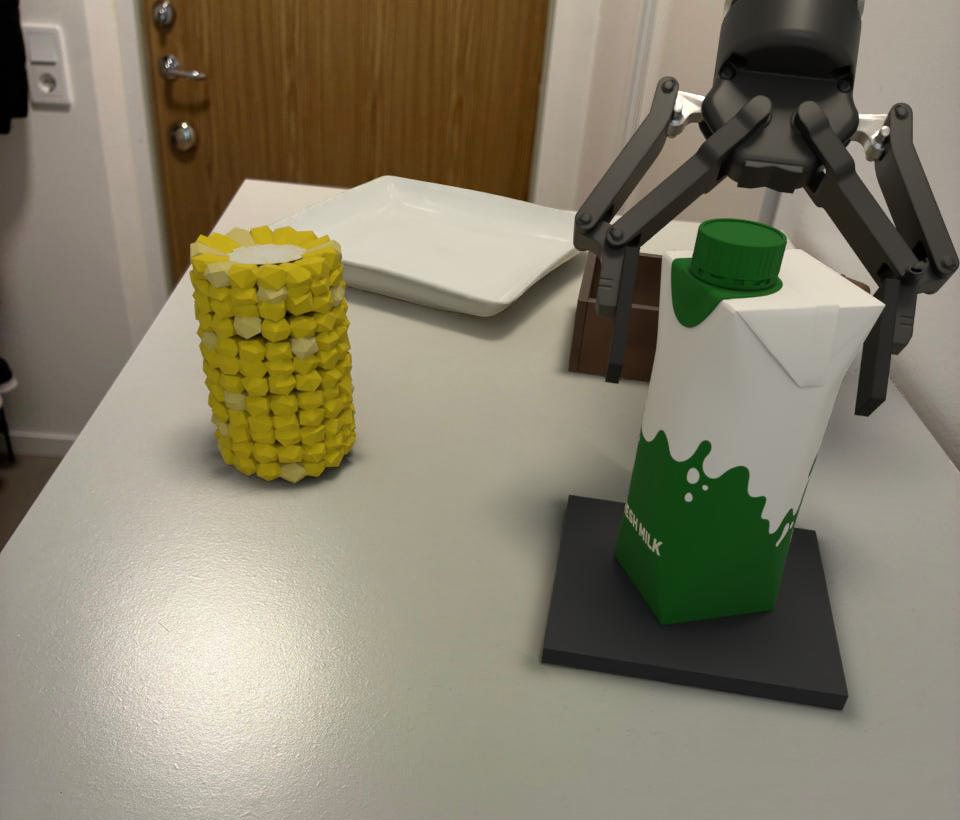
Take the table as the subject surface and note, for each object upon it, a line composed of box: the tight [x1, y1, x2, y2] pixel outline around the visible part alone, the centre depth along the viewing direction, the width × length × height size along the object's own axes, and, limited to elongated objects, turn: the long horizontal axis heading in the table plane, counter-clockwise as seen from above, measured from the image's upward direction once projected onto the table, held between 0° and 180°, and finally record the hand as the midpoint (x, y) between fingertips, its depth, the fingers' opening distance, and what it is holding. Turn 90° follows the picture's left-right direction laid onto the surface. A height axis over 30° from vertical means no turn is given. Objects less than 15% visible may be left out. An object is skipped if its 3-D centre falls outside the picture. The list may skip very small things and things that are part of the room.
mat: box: [541, 494, 849, 710], centre depth 58 cm, size 16×16×1 cm
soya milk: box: [614, 217, 885, 625], centre depth 51 cm, size 9×9×20 cm
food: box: [188, 224, 357, 485], centre depth 63 cm, size 15×12×10 cm
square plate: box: [267, 174, 582, 318], centre depth 97 cm, size 27×27×4 cm
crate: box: [567, 251, 663, 383], centre depth 84 cm, size 14×14×6 cm
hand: (740, 391), depth 52 cm, fingers open, 13 cm apart
